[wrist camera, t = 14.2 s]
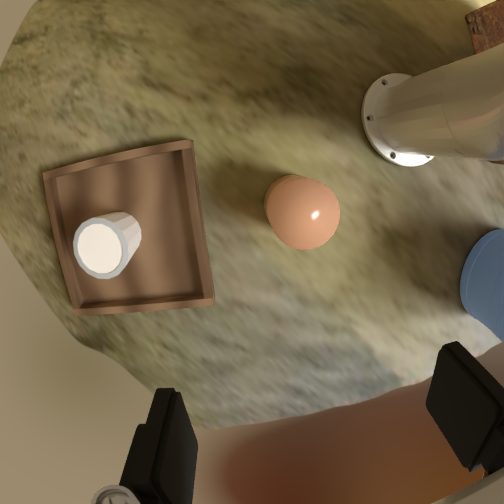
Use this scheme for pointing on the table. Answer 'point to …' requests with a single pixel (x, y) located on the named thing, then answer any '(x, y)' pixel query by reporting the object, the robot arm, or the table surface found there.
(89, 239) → the white tapered cup
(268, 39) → the table surface
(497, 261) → the water jug
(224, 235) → the table surface
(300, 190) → the peach rounded capsule
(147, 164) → the walnut tray
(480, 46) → the book
